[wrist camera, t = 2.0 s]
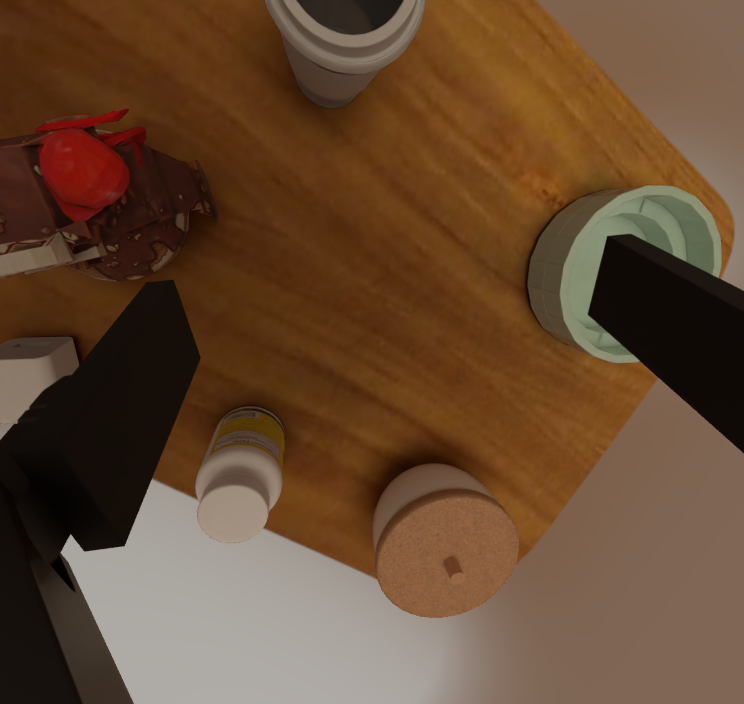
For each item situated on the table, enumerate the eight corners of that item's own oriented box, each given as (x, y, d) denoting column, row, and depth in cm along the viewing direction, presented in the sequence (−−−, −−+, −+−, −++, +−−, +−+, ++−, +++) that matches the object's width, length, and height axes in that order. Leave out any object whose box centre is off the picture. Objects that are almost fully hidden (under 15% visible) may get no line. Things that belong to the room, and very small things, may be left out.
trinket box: (468, 426, 36) (521, 491, 28) (487, 525, 40) (539, 611, 31) (349, 462, 36) (363, 541, 27) (378, 559, 39) (399, 658, 30)
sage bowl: (497, 254, 32) (530, 259, 28) (630, 157, 32) (687, 145, 27) (565, 372, 36) (604, 394, 32) (684, 287, 36) (742, 297, 31)
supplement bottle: (258, 477, 35) (241, 568, 26) (201, 441, 33) (161, 525, 24) (300, 429, 34) (298, 505, 25) (244, 390, 33) (220, 457, 23)
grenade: (196, 126, 27) (76, 17, 13) (238, 252, 30) (177, 278, 15) (45, 160, 26) (-256, 85, 12) (101, 286, 29) (-94, 346, 15)
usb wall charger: (-31, 360, 25) (12, 338, 29) (4, 458, 28) (40, 426, 31) (44, 358, 26) (77, 336, 29) (71, 454, 28) (98, 423, 32)
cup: (403, 69, 28) (471, -38, 17) (338, 150, 29) (361, 102, 17) (319, -25, 26) (330, -221, 14) (251, 66, 27) (212, -51, 15)
